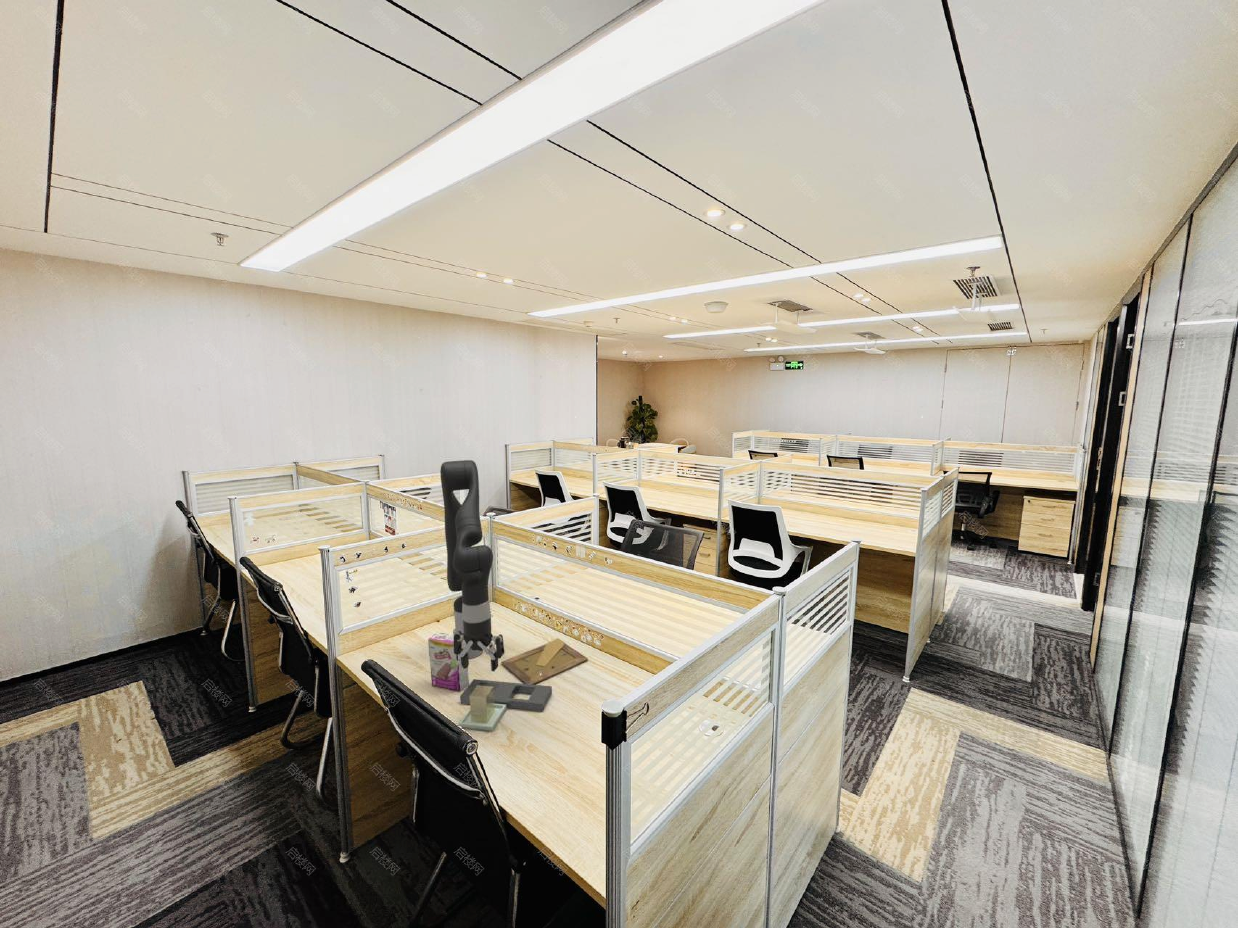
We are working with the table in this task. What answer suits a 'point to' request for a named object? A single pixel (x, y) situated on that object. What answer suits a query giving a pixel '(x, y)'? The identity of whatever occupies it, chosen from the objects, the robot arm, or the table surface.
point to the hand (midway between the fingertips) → (480, 668)
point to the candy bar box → (446, 663)
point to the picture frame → (544, 662)
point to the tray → (482, 726)
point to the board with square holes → (513, 694)
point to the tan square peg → (482, 704)
